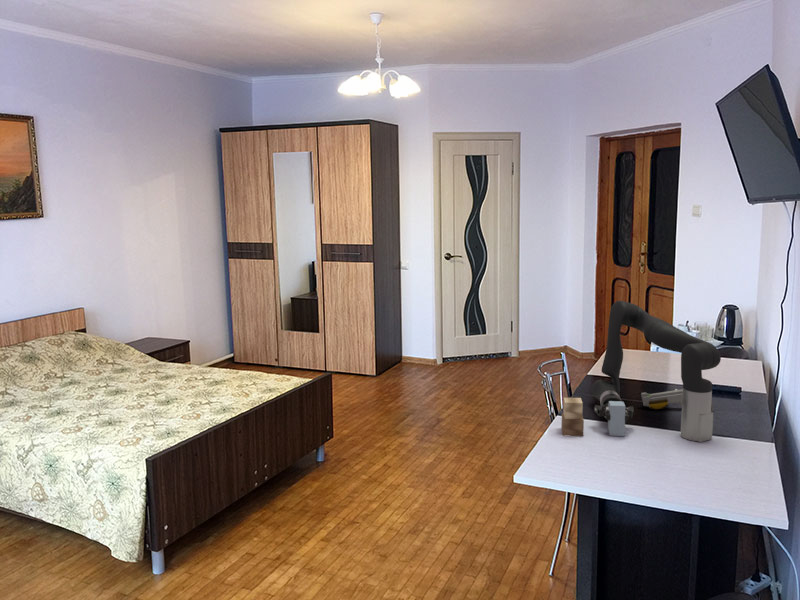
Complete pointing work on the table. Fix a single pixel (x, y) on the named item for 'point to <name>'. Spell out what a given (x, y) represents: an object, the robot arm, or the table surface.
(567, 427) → the walnut block
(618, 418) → the slate block
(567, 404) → the beech block
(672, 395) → the toy
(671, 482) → the table surface
